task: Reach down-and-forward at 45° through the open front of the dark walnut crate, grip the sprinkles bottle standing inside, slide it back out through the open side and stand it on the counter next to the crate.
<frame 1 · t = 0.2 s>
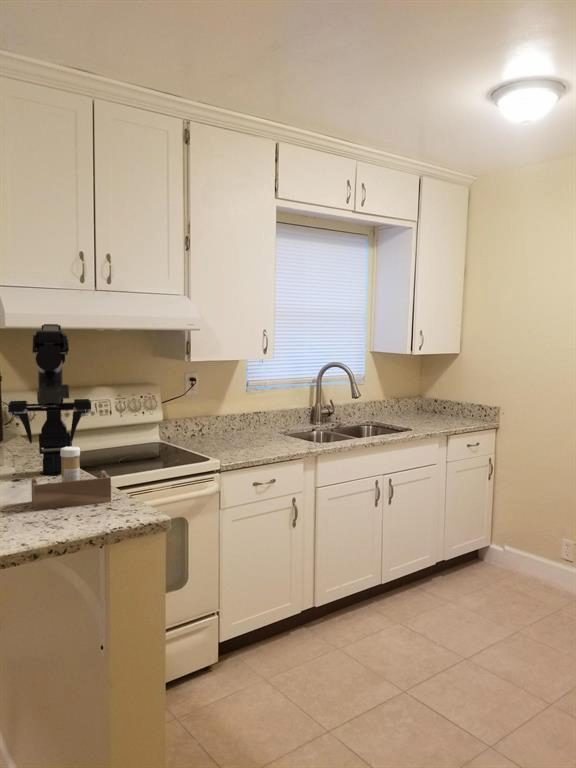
hand: (51, 442, 145), 15 cm above the countertop, tool tilted 15°, fingers open, 9 cm apart
walnut crate: (71, 500, 149), on the countertop
sprinkles bottle: (71, 501, 149), on the countertop
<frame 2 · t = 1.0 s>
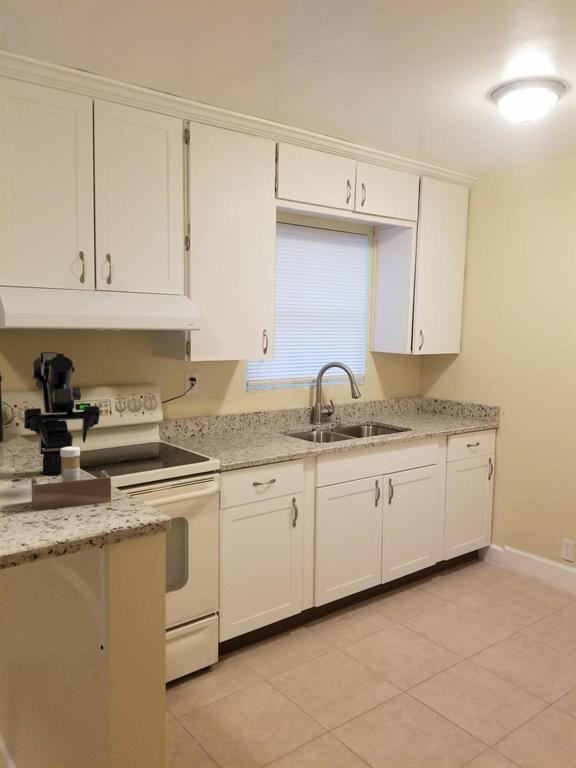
hand: (65, 442, 154), 13 cm above the countertop, tool tilted 45°, fingers open, 9 cm apart
nothing on the countertop moved.
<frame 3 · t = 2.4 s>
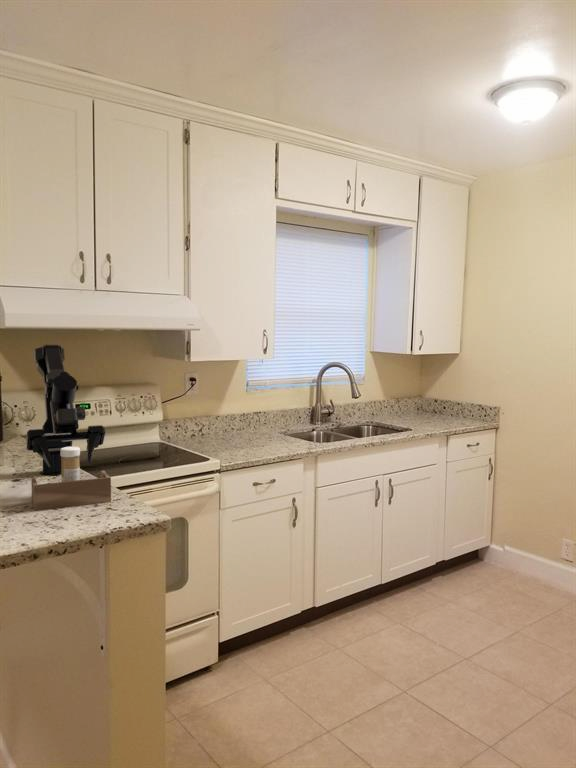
hand: (70, 464, 149), 9 cm above the countertop, tool tilted 45°, fingers open, 9 cm apart
nothing on the countertop moved.
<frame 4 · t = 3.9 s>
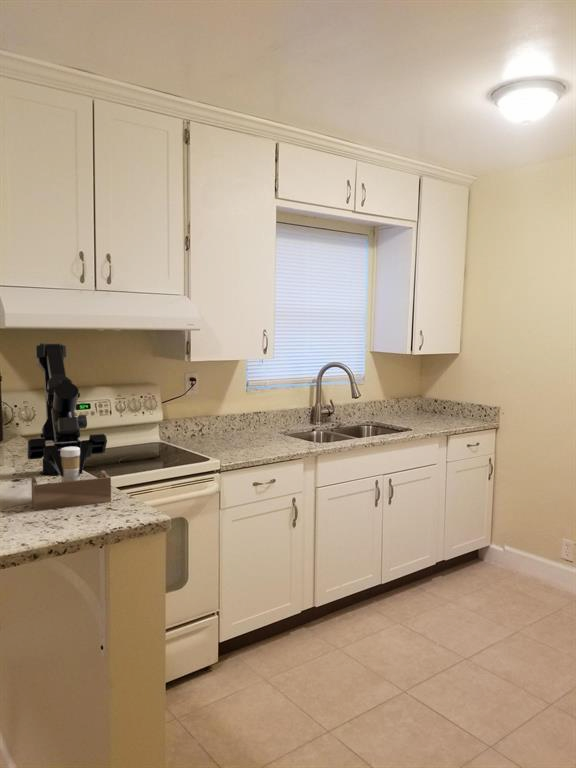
hand: (71, 474, 147), 7 cm above the countertop, tool tilted 45°, fingers closed on sprinkles bottle, 4 cm apart
sprinkles bottle: (71, 501, 149), on the countertop, touching gripper
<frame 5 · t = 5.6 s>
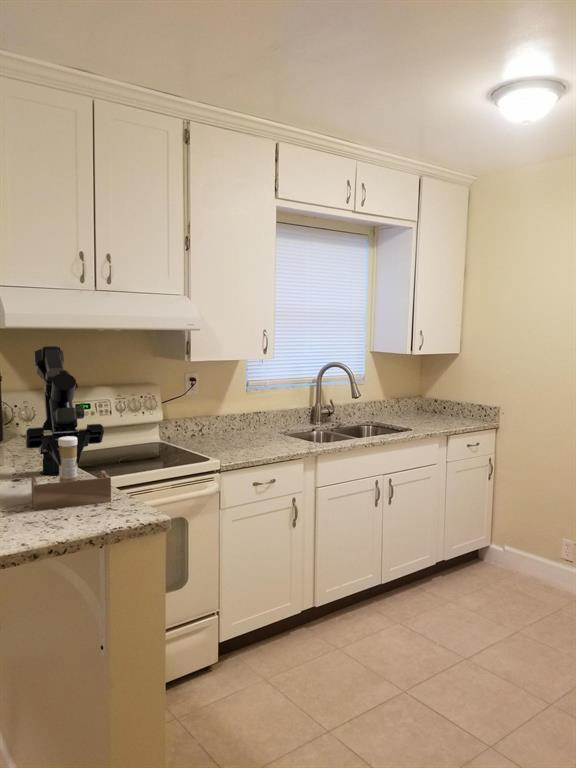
hand: (68, 463, 150), 9 cm above the countertop, tool tilted 45°, fingers closed on sprinkles bottle, 4 cm apart
sprinkles bottle: (68, 489, 152), point 2 cm above the countertop, touching gripper
when the fingers open (8 cm above the countertop, at t = 7.4 s): sprinkles bottle stays where it is, on the countertop.
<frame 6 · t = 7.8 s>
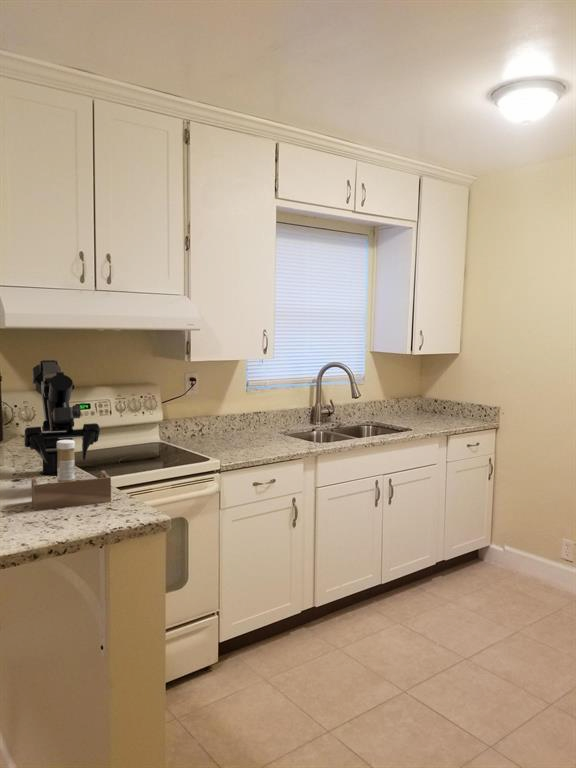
hand: (65, 461, 156), 8 cm above the countertop, tool tilted 45°, fingers open, 9 cm apart
sprinkles bottle: (66, 491, 158), on the countertop
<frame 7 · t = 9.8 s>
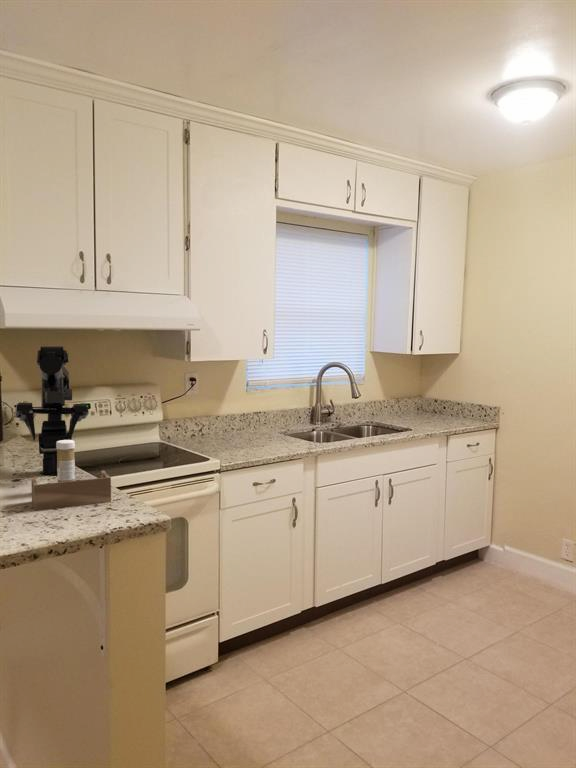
hand: (52, 440, 164), 12 cm above the countertop, tool tilted 25°, fingers open, 9 cm apart
nothing on the countertop moved.
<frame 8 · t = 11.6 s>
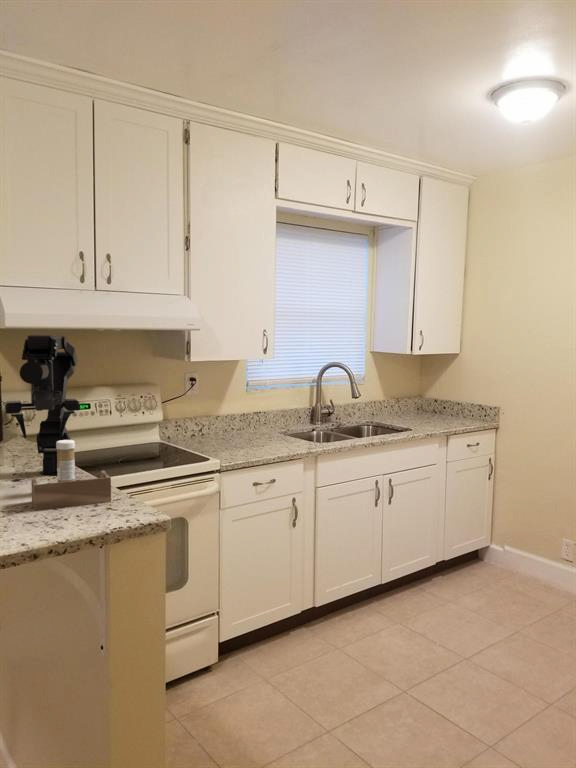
hand: (43, 436, 164), 13 cm above the countertop, tool pointing down, fingers open, 9 cm apart
nothing on the countertop moved.
at the end: sprinkles bottle inside the target area on the countertop beside the walnut crate (0.4 cm from its centre), on the countertop; sprinkles bottle tilted 0°; the gripper is holding nothing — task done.
